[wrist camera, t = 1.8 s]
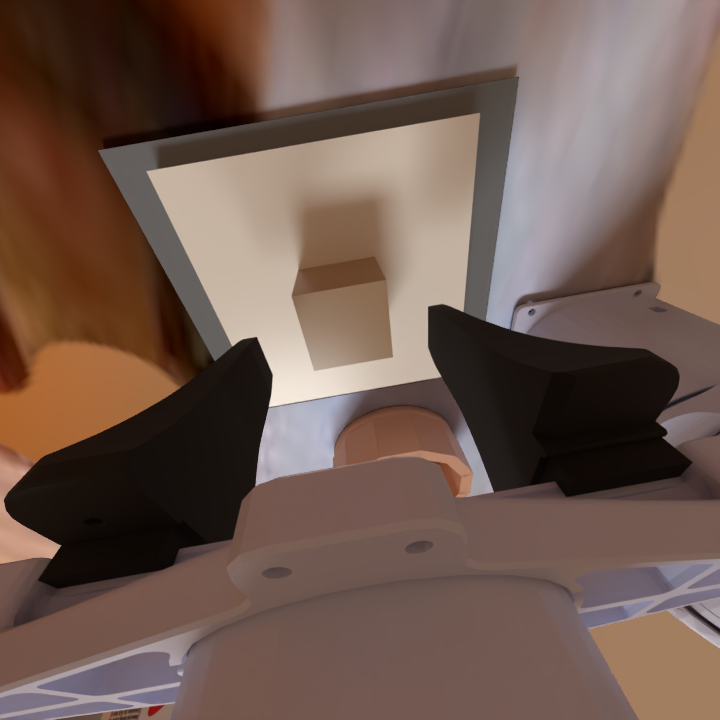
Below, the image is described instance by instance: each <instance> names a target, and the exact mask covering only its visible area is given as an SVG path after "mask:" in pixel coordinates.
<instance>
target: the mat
mask: <svg viewBox="0 0 720 720" xmlns="http://www.w3.org/2000/svg"><path fill="white" fill-rule="evenodd" d="M518 80H519V77H515V78H509V79H503V80H498V81H492V82H486V83H481V84H475V85H469V86H463V87H458V88H452V89H446V90H441V91H435V92H429V93H423V94H418V95H412V96H406V97H401V98H395V99H389V100H383V101H378V102H372V103H366V104H361V105H355V106H349V107H344V108H338V109H332V110H326V111H321V112H315V113H309V114H304V115H298V116H292V117H286V118H281V119H275V120H269V121H264V122H258V123H252V124H246V125H241V126H235V127H229V128H224V129H218V130H212V131H206V132H201V133H195V134H189V135H184V136H178V137H172V138H167V139H161V140H155V141H149V142H144V143H138V144H132V145H127V146H121V147H115V148H109V149H104V150H98V151H99V153H100V155H101V157H102V158H103V160H104V162H105V164H106V166H107V167H108V169H109V171H110V173H111V175H112V176H113V178H114V180H115V182H116V184H117V185H118V187H119V189H120V191H121V193H122V194H123V196H124V198H125V200H126V202H127V203H128V205H129V207H130V209H131V211H132V213H133V214H134V216H135V218H136V220H137V222H138V223H139V225H140V227H141V229H142V231H143V232H144V234H145V236H146V238H147V240H148V241H149V243H150V245H151V247H152V249H153V250H154V252H155V254H156V256H157V258H158V259H159V261H160V263H161V265H162V267H163V268H164V270H165V272H166V274H167V276H168V277H169V279H170V281H171V283H172V285H173V286H174V288H175V290H176V292H177V294H178V295H179V297H180V299H181V301H182V303H183V304H184V306H185V308H186V310H187V312H188V314H189V315H190V317H191V319H192V321H193V323H194V324H195V326H196V328H197V330H198V332H199V333H200V335H201V337H202V339H203V341H204V342H205V344H206V346H207V348H208V350H209V351H210V353H211V355H212V357H213V359H214V360H215V361H216V360H217V359H218V358H219V357H221V356H222V355H223V354H224V353H225V352H226V351H228V350H229V349H230V348H231V347H232V345H231V343H230V341H229V339H228V337H227V335H226V333H225V331H224V328H223V326H222V324H221V322H220V320H219V318H218V316H217V314H216V312H215V310H214V308H213V306H212V304H211V302H210V300H209V298H208V296H207V294H206V292H205V290H204V288H203V286H202V284H201V282H200V280H199V278H198V275H197V273H196V271H195V269H194V267H193V265H192V263H191V261H190V259H189V257H188V255H187V253H186V251H185V249H184V247H183V245H182V243H181V241H180V239H179V237H178V235H177V233H176V231H175V229H174V227H173V224H172V222H171V220H170V218H169V216H168V214H167V212H166V210H165V208H164V206H163V204H162V202H161V200H160V198H159V196H158V194H157V192H156V190H155V188H154V186H153V184H152V182H151V180H150V178H149V176H148V173H147V171H151V170H157V169H162V168H168V167H174V166H179V165H185V164H191V163H197V162H202V161H208V160H214V159H219V158H225V157H231V156H237V155H242V154H248V153H254V152H259V151H265V150H271V149H277V148H282V147H288V146H294V145H299V144H305V143H311V142H316V141H322V140H328V139H334V138H339V137H345V136H351V135H356V134H362V133H368V132H374V131H379V130H385V129H391V128H396V127H402V126H408V125H414V124H419V123H425V122H431V121H436V120H442V119H448V118H454V117H459V116H465V115H471V114H476V113H480V121H479V133H478V145H477V157H476V169H475V181H474V192H473V204H472V216H471V228H470V240H469V252H468V264H467V276H466V288H465V300H464V312H465V313H467V314H469V315H471V316H474V317H476V318H479V319H481V320H484V321H485V320H486V313H487V306H488V298H489V291H490V284H491V276H492V269H493V262H494V255H495V247H496V240H497V233H498V225H499V218H500V211H501V204H502V196H503V189H504V182H505V175H506V167H507V160H508V153H509V145H510V138H511V131H512V124H513V116H514V109H515V102H516V95H517V87H518ZM438 378H442V377H438ZM438 378H433V379H438ZM433 379H427V380H433ZM427 380H421V381H427ZM421 381H415V382H421ZM415 382H410V383H415ZM410 383H404V384H410ZM404 384H398V385H404ZM398 385H392V386H387V387H393V386H398ZM387 387H381V388H387ZM381 388H375V389H381ZM375 389H370V390H375ZM370 390H364V391H370ZM364 391H358V392H364ZM358 392H352V393H358ZM352 393H347V394H352ZM347 394H341V395H347ZM341 395H335V396H341ZM335 396H330V397H335ZM330 397H324V398H330ZM324 398H318V399H324ZM318 399H312V400H318ZM312 400H307V401H312ZM307 401H301V402H307ZM301 402H295V403H301ZM295 403H289V404H284V405H290V404H295ZM284 405H278V406H284ZM278 406H272V407H278ZM272 407H269V408H272Z"/></svg>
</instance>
